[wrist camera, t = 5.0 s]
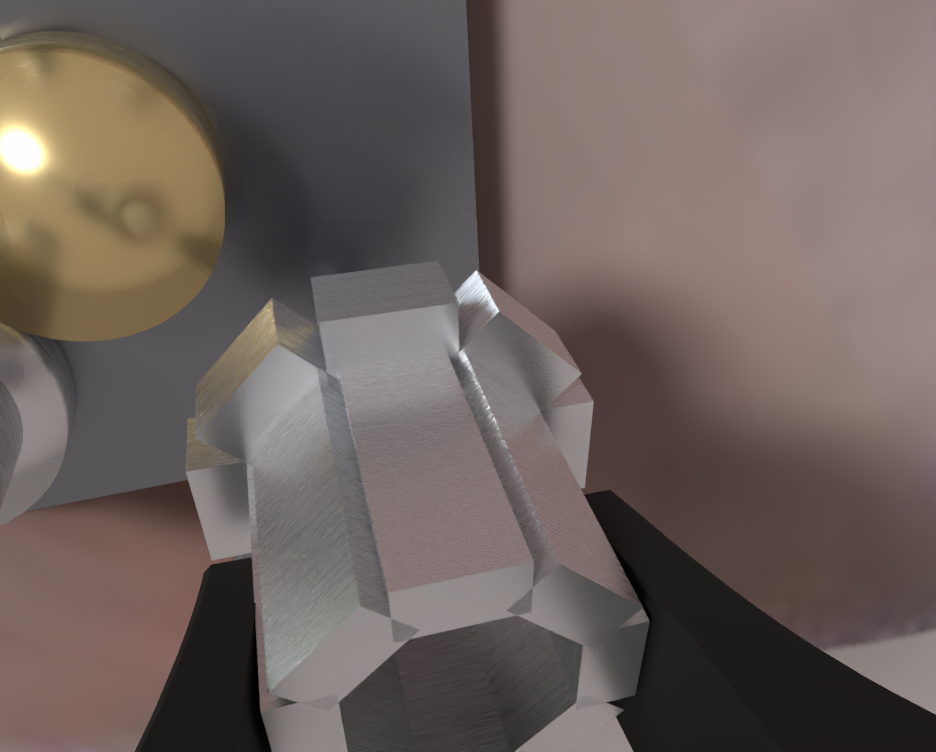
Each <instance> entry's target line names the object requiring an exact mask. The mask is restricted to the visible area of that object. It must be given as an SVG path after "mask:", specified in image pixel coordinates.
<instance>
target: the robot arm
mask: <svg viewBox="0 0 936 752" xmlns="http://www.w3.org/2000/svg"><path fill="white" fill-rule="evenodd" d="M584 496H585V498H586V500H587V502H588V503H589V505H590V507H591V509H592V511H593V513H594V515H595V517H596V519H597V521H598V522H599V524H600V526H601V528H602V530H603V532H604V534H605V536H606V538H607V540H608V542H609V543H610V545H611V547H612V549H613V551H614V553H615V555H616V557H617V559H618V561H619V562H620V564H621V566H622V568H623V570H624V572H625V574H626V576H627V578H628V580H629V582H630V583H631V585H632V587H633V589H634V591H635V593H636V595H637V597H638V599H639V601H640V602H641V604H642V606H643V609H644V611H645V613H646V615H647V617H648V619H649V621H650V622H649V627H648V632H647V638H646V643H645V648H644V653H643V658H642V663H641V668H640V673H639V678H638V684H637V689H636V694H635V695H634V696H630V697H626V698H622V699H620V701H621V704H622V706H623V708H624V710H623V711H622V712H621V713H620V714H618V715H617V716H616V717H617V719H618V722H619V724H620V726H621V728H622V730H623V731H624V734H625V735H626V738H627V739H628V742H629V743H630V745H631V747H632V749H633V751H634V752H936V715H935V714H933V713H931V712H929V711H928V710H925V709H923V708H922V707H920V706H918V705H916V704H914V703H912V702H910V701H908V700H906V699H905V698H903V697H900V696H899V695H897V694H895V693H893V692H891V691H889V690H888V689H886V688H884V687H882V686H881V685H879V684H877V683H875V682H873V681H871V680H870V679H868V678H866V677H864V676H863V675H861V674H859V673H857V672H856V671H854V670H853V669H851V668H849V667H848V666H846V665H844V664H843V663H841V662H840V661H838V660H836V659H835V658H833V657H831V656H830V655H828V654H826V653H825V652H823V651H821V650H820V649H818V648H816V647H815V646H813V645H812V644H810V643H809V642H807V641H805V640H804V639H802V638H801V637H799V636H798V635H796V634H795V633H793V632H792V631H790V630H789V629H787V628H786V627H784V626H783V625H781V624H780V623H779V622H777V621H776V620H774V619H773V618H771V617H770V616H769V615H767V614H766V613H764V612H763V611H761V610H760V609H758V608H757V607H756V606H754V605H753V604H752V603H750V602H749V601H747V600H746V599H745V598H743V597H742V596H741V595H739V594H738V593H737V592H735V591H734V590H733V589H731V588H730V587H729V586H727V585H726V584H725V583H724V582H722V581H721V580H720V579H718V578H717V577H716V576H715V575H713V574H712V573H711V572H709V571H708V570H707V569H706V568H704V567H703V566H702V565H700V564H699V563H698V562H697V561H695V560H694V559H693V558H692V557H690V556H689V555H688V554H687V553H685V552H684V551H683V550H682V549H681V548H679V547H678V546H677V545H676V544H674V543H673V542H672V541H671V540H670V539H668V538H667V537H666V536H665V535H664V534H662V533H661V532H660V531H659V530H658V529H656V528H655V527H654V526H653V525H652V524H650V523H649V522H648V521H647V520H646V519H645V518H643V517H642V516H641V515H640V514H639V513H637V512H636V511H635V510H634V509H633V508H631V507H630V506H629V505H628V504H627V503H626V502H624V501H623V500H622V499H621V498H619V497H618V496H617V495H616V494H615V493H613V492H612V491H611V490H607V491H602V492H596V493H591V494H586V495H584ZM255 607H256V603H254V586H253V568H252V557H250V558H245V559H240V560H234V561H229V562H224V563H218V564H213V565H211V566H210V567H209V568H208V569H207V570H206V571H205V572H204V575H203V579H202V583H201V587H200V590H199V594H198V597H197V600H196V604H195V607H194V610H193V613H192V616H191V619H190V622H189V625H188V628H187V631H186V633H185V636H184V639H183V641H182V644H181V647H180V650H179V652H178V655H177V657H176V660H175V662H174V665H173V667H172V669H171V672H170V674H169V677H168V679H167V682H166V684H165V686H164V689H163V691H162V694H161V696H160V698H159V701H158V703H157V706H156V708H155V710H154V712H153V715H152V717H151V719H150V721H149V723H148V725H147V727H146V729H145V731H144V734H143V736H142V738H141V740H140V742H139V744H138V746H137V748H136V750H135V752H272V750H271V746H270V743H269V739H268V736H267V732H266V729H265V725H264V722H263V719H262V715H261V712H260V694H259V676H258V658H257V640H256V622H255Z"/></svg>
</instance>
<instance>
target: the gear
mask: <svg viewBox="0 0 936 752" xmlns="http://www.w3.org/2000/svg"><path fill="white" fill-rule="evenodd" d="M311 284H312V291H313V298H314V305H315V312H316V319H317V325H315V324H314V323H312V322H310V321H309V320H307V319H306V318H304V317H302V316H301V315H299V314H297V313H296V312H294V311H293V310H291V309H289V308H288V307H286V306H285V305H283V304H281V303H280V302H278V301H276V300H275V299H273V298H271V299H270V300H269V301H268V303H267V304H266V305H265V306H264V307H263V308H262V310H261V311H260V312H259V313H258V314H257V315H256V316H255V318H254V319H253V320H252V321H251V322H250V323H249V325H248V326H247V327H246V328H245V329H244V330H243V332H242V333H241V334H240V335H239V336H238V337H237V339H236V340H235V341H234V342H233V343H232V344H231V346H230V347H229V348H228V349H227V350H226V351H225V352H224V354H223V355H222V356H221V357H220V358H219V359H218V361H217V362H216V363H215V364H214V365H213V366H212V368H211V369H210V370H209V371H208V372H207V373H206V375H205V376H204V377H203V378H202V379H201V380H200V381H199V383H198V384H197V385H196V397H195V417H194V418H188V419H187V449H186V475H187V478H188V481H189V485H190V488H191V491H192V495H193V498H194V502H195V505H196V508H197V512H198V515H199V519H200V522H201V525H202V529H203V532H204V535H205V539H206V542H207V546H208V549H209V552H210V556H211V559H212V560H217V559H222V558H227V557H232V556H234V560H240V559H245V558H250V557H252V568H253V586H254V603H256V607H255V622H256V640H257V658H258V676H259V694H260V712H261V715H262V719H263V722H264V725H265V729H266V732H267V736H268V739H269V743H270V746H271V750H272V752H570V751H571V750H573V749H574V748H575V747H577V746H578V745H579V744H580V743H582V742H583V741H584V740H586V739H587V738H588V737H590V736H591V735H592V734H593V733H595V732H596V731H597V730H599V729H600V728H601V727H603V726H604V725H605V724H607V723H608V722H609V721H611V720H612V719H613V718H614V717H616V716H617V715H618V714H620V713H621V712H622V711H623V710H624V708H623V706H622V704H621V701H620V699H622V698H626V697H630V696H634V695H635V694H636V689H637V684H638V678H639V673H640V668H641V663H642V658H643V653H644V648H645V643H646V638H647V632H648V627H649V622H650V621H649V619H648V617H647V615H646V613H645V611H644V609H643V606H642V604H641V602H640V601H639V599H638V597H637V595H636V593H635V591H634V589H633V587H632V585H631V583H630V582H629V580H628V578H627V576H626V574H625V572H624V570H623V568H622V566H621V564H620V562H619V561H618V559H617V557H616V555H615V553H614V551H613V549H612V547H611V545H610V543H609V542H608V540H607V538H606V536H605V534H604V532H603V530H602V528H601V526H600V524H599V522H598V521H597V519H596V517H595V515H594V513H593V511H592V509H591V507H590V505H589V503H588V502H587V500H586V498H585V496H584V494H583V492H582V490H581V488H585V482H586V472H587V462H588V453H589V443H590V433H591V424H592V414H593V404H594V401H593V399H592V398H591V396H590V394H589V393H588V391H587V389H586V388H585V386H584V385H583V383H582V381H581V380H580V378H579V376H580V375H581V374H582V373H581V371H580V370H579V368H578V366H577V365H576V363H575V362H574V360H573V359H572V357H571V355H570V354H569V352H568V351H567V349H566V347H565V346H564V344H563V343H562V341H561V339H560V338H559V336H558V335H557V333H556V331H555V330H553V329H552V328H551V327H550V326H548V325H547V324H546V323H544V322H543V321H542V320H541V319H539V318H538V317H537V316H535V315H534V314H533V313H532V312H530V311H529V310H528V309H526V308H525V307H524V306H522V305H521V304H520V303H519V302H517V301H516V300H515V299H513V298H512V297H511V296H510V295H508V294H507V293H506V292H504V291H503V290H502V289H500V288H499V287H498V286H497V285H495V284H494V283H493V282H491V281H490V280H489V279H488V278H486V277H485V276H484V275H482V274H481V273H480V272H479V271H477V270H476V271H475V272H474V273H473V274H472V275H471V276H470V277H469V278H468V279H467V280H466V281H465V282H464V283H463V284H462V286H461V287H460V288H459V289H458V290H457V291H456V292H455V293H453V291H452V288H451V286H450V284H449V282H448V280H447V278H446V276H445V274H444V272H443V270H442V268H441V265H440V263H439V261H432V262H424V263H417V264H409V265H401V266H394V267H386V268H379V269H371V270H363V271H356V272H348V273H341V274H333V275H326V276H318V277H311Z"/></svg>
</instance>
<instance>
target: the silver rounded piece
mask: <svg viewBox="0 0 936 752" xmlns="http://www.w3.org/2000/svg"><path fill="white" fill-rule="evenodd" d="M75 405H76V396H75V388H74V382H73V378H72V375H71V371H70V368H69V366H68V364H67V361H66V359H65V357H64V355H63V353H62V351H61V349H60V348H59V346H58V345H57V343H56V342H55V340H54V339H51V338H46V337H41V336H37V335H33V334H30V333H26V332H23V331H20V330H17V329H14V328H12V327H9V326H7V325H5V324H2V323H0V526H1V525H3V524H5V523H7V522H9V521H11V520H12V519H14V518H15V517H17V516H19V515H20V514H22V513H23V512H25V511H26V510H27V509H28V508H30V507H31V506H32V505H33V504H34V503H35V502H37V501H38V500H39V499H40V497H41V496H42V495H43V494H44V493H45V492H46V491H47V489H48V488H49V487H50V485H51V484H52V482H53V480H54V479H55V477H56V476H57V474H58V471H59V469H60V466H61V464H62V462H63V458H64V455H65V451H66V448H67V444H68V440H69V437H70V433H71V429H72V425H73V421H74V416H75Z"/></svg>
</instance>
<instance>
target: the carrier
mask: <svg viewBox="0 0 936 752" xmlns="http://www.w3.org/2000/svg"><path fill="white" fill-rule="evenodd" d="M432 261H439V263H440V265H441V268H442V270H443V272H444V274H445V276H446V278H447V280H448V282H449V284H450V286H451V288H452V291H453V293H455V292H456V291H457V290H458V289H459V288H460V287H461V286H462V284H463V283H464V282H465V281H466V280H467V279H468V278H469V277H470V276H471V275H472V274H473V273H474V272H475V271H476V270H477V271H479V254H478V233H477V213H476V193H475V172H474V152H473V132H472V111H471V91H470V71H469V50H468V30H467V10H466V0H0V323H2V324H5V325H7V326H9V327H12V328H14V329H17V330H20V331H23V332H26V333H30V334H33V335H37V336H41V337H46V338H51V339H54V340H55V342H56V343H57V345H58V346H59V348H60V349H61V351H62V353H63V355H64V357H65V359H66V361H67V364H68V366H69V368H70V371H71V375H72V378H73V382H74V388H75V396H76V405H75V416H74V421H73V425H72V429H71V433H70V437H69V440H68V444H67V448H66V451H65V455H64V458H63V462H62V464H61V466H60V469H59V471H58V474H57V476H56V477H55V479H54V480H53V482H52V484H51V485H50V487H49V488H48V489H47V491H46V492H45V493H44V494H43V495H42V496H41V497H40V499H39V500H38V501H37V502H35V503H34V504H33V505H32V506H31V507H30V508H28V509H27V510H26V511H31V510H36V509H41V508H46V507H51V506H56V505H62V504H67V503H72V502H77V501H82V500H87V499H93V498H98V497H103V496H108V495H113V494H118V493H124V492H129V491H134V490H139V489H144V488H149V487H155V486H160V485H165V484H170V483H175V482H181V481H186V480H188V478H187V475H186V449H187V419H188V418H194V417H195V397H196V385H197V384H198V383H199V381H200V380H201V379H202V378H203V377H204V376H205V375H206V373H207V372H208V371H209V370H210V369H211V368H212V366H213V365H214V364H215V363H216V362H217V361H218V359H219V358H220V357H221V356H222V355H223V354H224V352H225V351H226V350H227V349H228V348H229V347H230V346H231V344H232V343H233V342H234V341H235V340H236V339H237V337H238V336H239V335H240V334H241V333H242V332H243V330H244V329H245V328H246V327H247V326H248V325H249V323H250V322H251V321H252V320H253V319H254V318H255V316H256V315H257V314H258V313H259V312H260V311H261V310H262V308H263V307H264V306H265V305H266V304H267V303H268V301H269V300H270V299H271V298H273V299H275V300H276V301H278V302H280V303H281V304H283V305H285V306H286V307H288V308H289V309H291V310H293V311H294V312H296V313H297V314H299V315H301V316H302V317H304V318H306V319H307V320H309V321H310V322H312V323H314V324H315V325H317V319H316V312H315V305H314V298H313V291H312V284H311V277H318V276H326V275H333V274H341V273H348V272H356V271H363V270H371V269H379V268H386V267H394V266H401V265H409V264H417V263H424V262H432Z"/></svg>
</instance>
